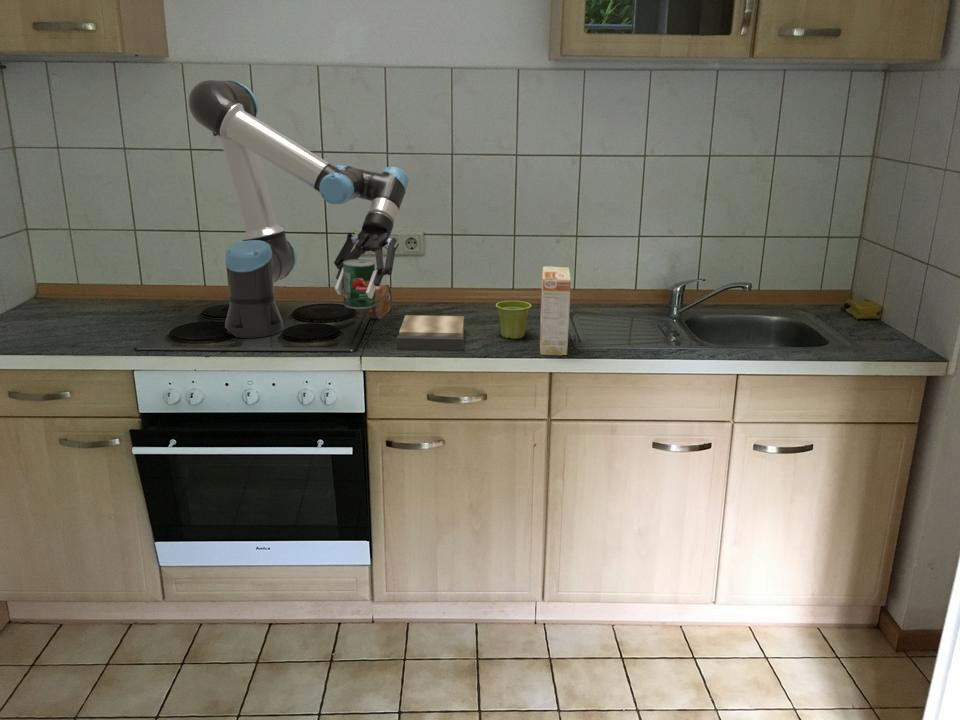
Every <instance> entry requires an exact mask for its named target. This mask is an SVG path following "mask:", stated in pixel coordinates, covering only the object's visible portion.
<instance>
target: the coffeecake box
mask: <svg viewBox="0 0 960 720" xmlns="http://www.w3.org/2000/svg"><path fill="white" fill-rule="evenodd" d="M571 282H572V280H571V271H570V267H569V266H568V267H565V266H553V265H551V266H542V276H541V292H540V293H541V295H540V297H541V298H540V319H539V320H540V322H539V324H540V325H539V354H540V356H541V355H542V356H562V355H568V343H569V327H570V326H569V324H570V323H569V322H570V308H571V307H570V302H571V300H570V299H571V286H572V285H571Z"/></svg>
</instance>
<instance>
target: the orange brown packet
mask: <svg viewBox="0 0 960 720" xmlns="http://www.w3.org/2000/svg"><path fill="white" fill-rule="evenodd" d="M391 307H392V292H391V288H390V285H389V284H380V285H379V286H376V289H375V306H373V307H371V308H367V310H368V311H367V313H368V316H369V318H370V319H371V320H374V319H375V320H382V319H383V318H384V317H385V316H386V315H387V314H388V313H390V311H391Z"/></svg>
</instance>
